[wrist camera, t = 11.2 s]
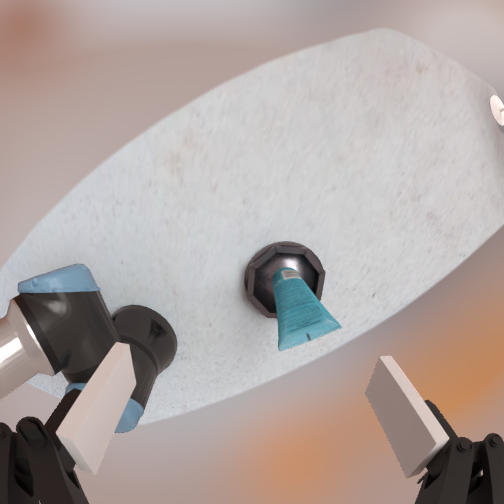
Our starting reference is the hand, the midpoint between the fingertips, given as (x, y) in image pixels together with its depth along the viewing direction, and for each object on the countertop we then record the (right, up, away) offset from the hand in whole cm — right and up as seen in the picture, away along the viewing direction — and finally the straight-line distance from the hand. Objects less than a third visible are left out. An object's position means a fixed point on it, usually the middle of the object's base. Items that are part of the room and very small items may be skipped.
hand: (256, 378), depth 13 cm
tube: (+6, +1, +35) cm, 35 cm away
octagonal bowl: (+6, +1, +36) cm, 36 cm away
